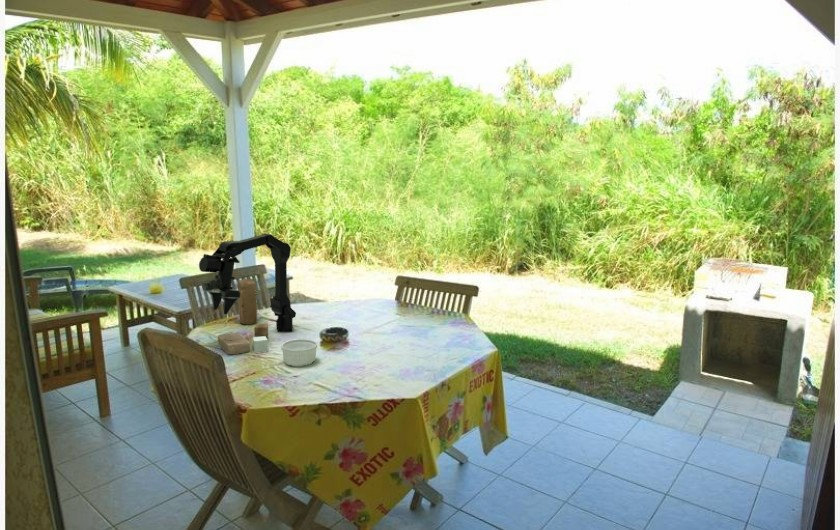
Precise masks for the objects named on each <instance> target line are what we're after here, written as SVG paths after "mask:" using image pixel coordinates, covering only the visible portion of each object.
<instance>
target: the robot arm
mask: <svg viewBox="0 0 840 530" xmlns="http://www.w3.org/2000/svg"><path fill="white" fill-rule="evenodd" d="M262 246H266V248H268V249H269V250H270V253H271V257H272V259H273V262H274V276H275V277H274V280H275V281H274V286H275V288H274V291H275V292H274V296H273V298H270V300H269V301H270V308H271V311H272V312H273V314H274V316H276V317H277V318H276V330H277V332H278V333H287V332H290V333H291V332H293V330H294V325H293V323H294V322H293V321H294V320H293V319H294V318H296V314H297V312H296V311H295V310H294V309H293V308H292V305H291V300H290V299H289V297H288V291H287V290H288V289H287V288H288V284H287V283H288V282H287V281H288V279H287V278H288V277H287V271H288V270H287V263H288V261H289V259H290V257H291V250H292V249H291V246H290V245H289V244H288V243H287V242H284V241H282V240H280V239H278V238H277V237H276V236H275V235H273V234H270V233H267V232H266V233H262V234H259V235H256V236H252V237H249V238H248V237H247V238H245V239H240V240H224V241H222V242H220V243H219V246H218V247H217V249H216V250H215V251H214V252H213V254H211V255H210V254H207V253H204V254H203V255H202V256H203V257H202V258H200V261H199V263H198V268H199V271H200V272H203V273H215V274H214V278H210V279H207V280H203V281H201V286H202V290H203V291H206V292H207V293H208V294H209V295H210V296H211V301H212V306H213V310H215V311H217V310H218V308H219V306H220V304H221V302H222V300H223V315H227V314H228V312H229V311H230V310H231V308H232V307H233V305H234V304H235V302H236V301H238V298H240V292H239V291H238V289H234V287H233V286H232V283H233V280H235V276H234V271H235V270H234V269H235V264H240V260H239V259H238V258H237V256H239V255H242V253H244V252H245V251H247V250H251V249H255V248H258V247H262Z"/></svg>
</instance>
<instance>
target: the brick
mask: <svg viewBox="0 0 840 530" xmlns="http://www.w3.org/2000/svg"><path fill="white" fill-rule="evenodd" d="M217 344H218V346H219V345H220V347H221V349H222V350H223V349H224V352H225V351H226V352H227V353H226V354H228V355H237V354H244V353H249V352H250V341H249V340H247V339H245V338H244V337H243V336H242V335H241V334H240V333H238V332H235V331H233V332H229V333H228V332H227V333H226V332H225V333H223V334H218V336H217Z"/></svg>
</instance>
